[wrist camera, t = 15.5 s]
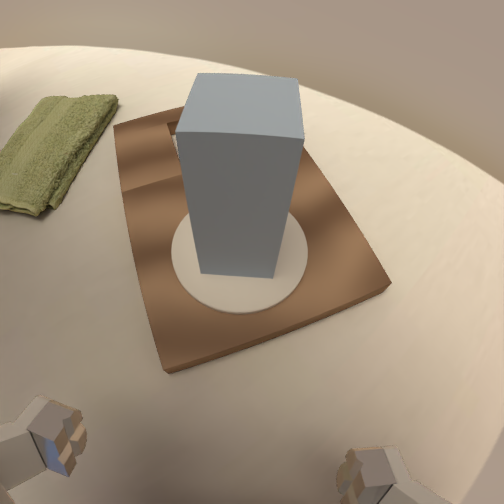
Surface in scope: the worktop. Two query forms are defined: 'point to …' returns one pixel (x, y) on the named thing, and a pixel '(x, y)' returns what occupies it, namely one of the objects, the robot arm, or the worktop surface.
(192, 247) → the felt coaster
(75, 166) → the washcloth
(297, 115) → the slate block
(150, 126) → the walnut board
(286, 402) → the worktop surface
